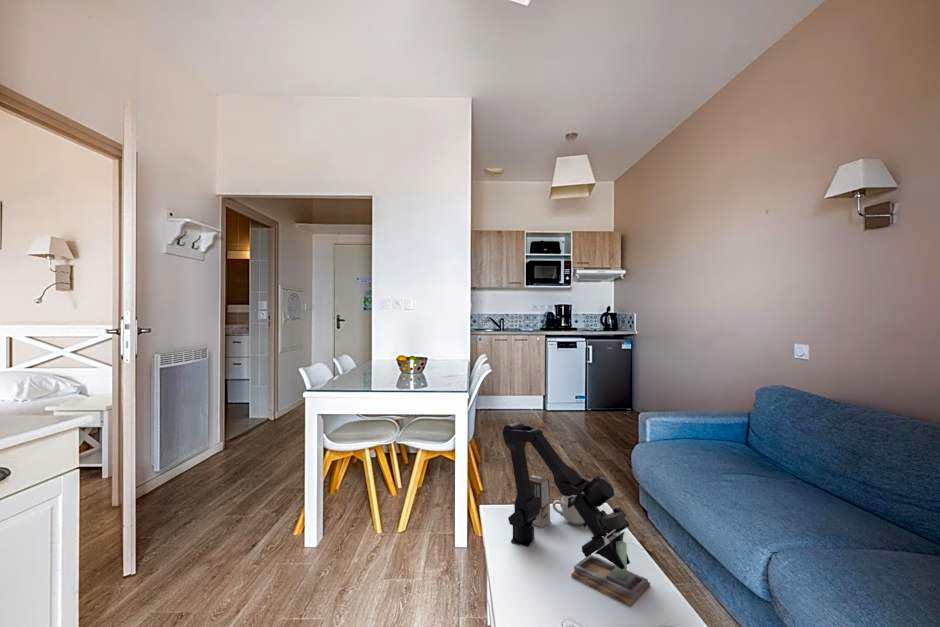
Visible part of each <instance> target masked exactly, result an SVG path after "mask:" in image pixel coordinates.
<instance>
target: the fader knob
mask: <svg viewBox="0 0 940 627" xmlns="http://www.w3.org/2000/svg"><path fill="white" fill-rule="evenodd" d="M627 550H628V549H627V543H626V542H625V541H624V540H623V541H617V542H616V553H617V554H618V556H619V558H620V559H621V561H622V563H623V565H624V567H625V568H624V569H620V568H619V567H618V566H616V567H615V568H614V569H613V570H612V571H611V572H610V573H609V574H608V575H606V579H607V580H609V581H612V582H614V583H616V584H618V585H620V586H622V587H624V588H626V589H628V590H630V589H631V588H632V587H633V586H634V585H635V584H636V583H637V575H638V574H637V575H635V574H636V573H634V574H632V573H633V572H632V573H630V572H631V571H630V572H628V571H629V570H628V569H627V568H628V566H627V555H628V553H627V552H628V551H627ZM627 570H628V571H627Z"/></svg>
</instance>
